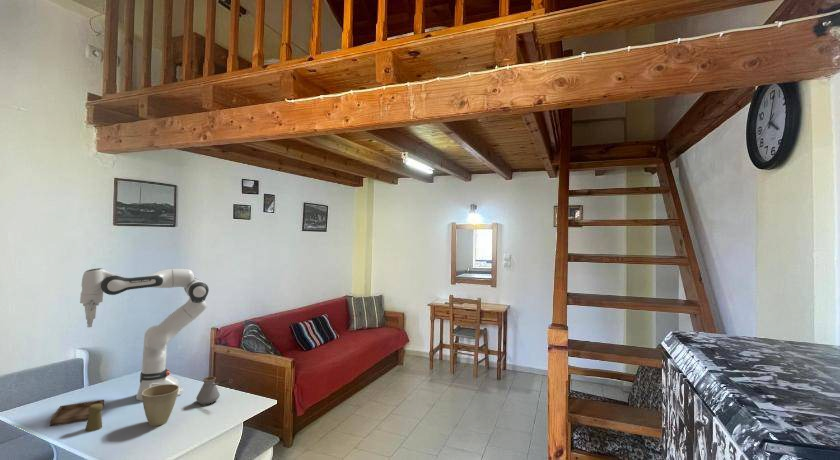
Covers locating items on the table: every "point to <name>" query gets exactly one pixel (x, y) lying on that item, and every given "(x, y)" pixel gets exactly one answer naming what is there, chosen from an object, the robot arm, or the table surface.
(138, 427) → the table surface
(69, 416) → the walnut tray
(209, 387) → the coffee pot
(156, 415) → the plant pot
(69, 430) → the table surface
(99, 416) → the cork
